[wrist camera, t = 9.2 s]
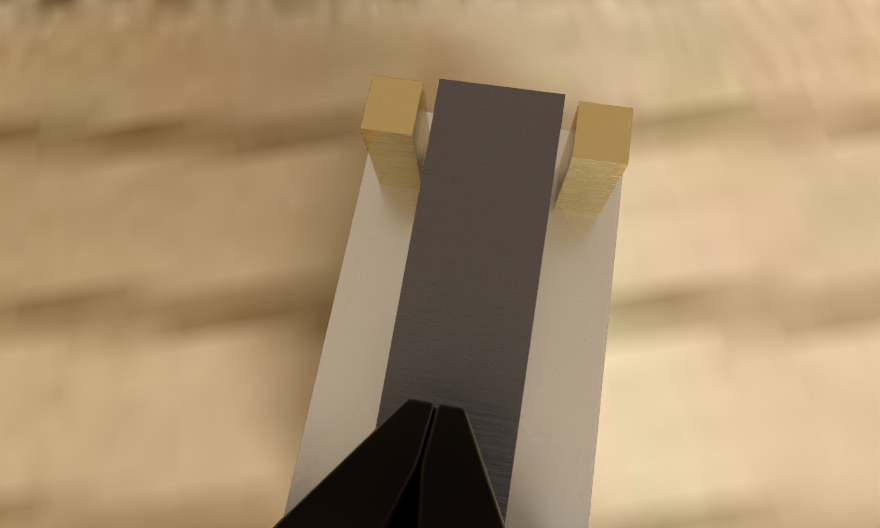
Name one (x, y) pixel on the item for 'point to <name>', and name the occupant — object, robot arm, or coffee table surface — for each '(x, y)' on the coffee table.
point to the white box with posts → (555, 320)
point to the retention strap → (476, 263)
